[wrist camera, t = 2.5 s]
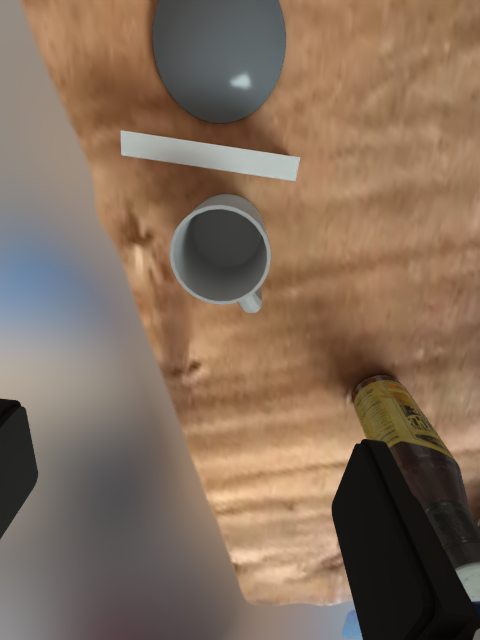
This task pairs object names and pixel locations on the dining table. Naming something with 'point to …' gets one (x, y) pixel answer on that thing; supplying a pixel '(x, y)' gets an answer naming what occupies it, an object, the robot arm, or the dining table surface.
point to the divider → (209, 155)
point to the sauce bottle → (423, 469)
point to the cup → (222, 252)
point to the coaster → (219, 54)
